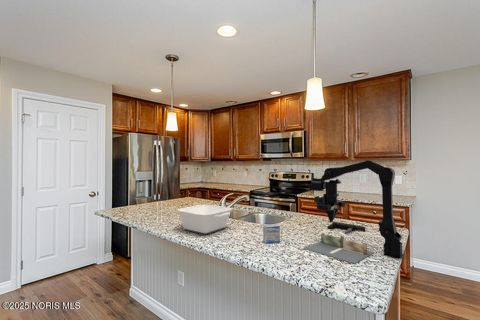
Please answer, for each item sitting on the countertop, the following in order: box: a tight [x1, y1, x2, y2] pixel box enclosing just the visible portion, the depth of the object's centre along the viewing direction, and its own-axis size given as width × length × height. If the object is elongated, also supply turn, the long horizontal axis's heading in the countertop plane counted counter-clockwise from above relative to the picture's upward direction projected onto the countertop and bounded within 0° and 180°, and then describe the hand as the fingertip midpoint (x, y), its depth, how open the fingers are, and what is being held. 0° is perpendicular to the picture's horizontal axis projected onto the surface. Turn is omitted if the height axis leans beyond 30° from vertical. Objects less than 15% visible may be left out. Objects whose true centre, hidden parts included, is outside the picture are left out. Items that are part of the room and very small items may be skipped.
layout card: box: [303, 240, 374, 265], centre depth 121 cm, size 25×19×1 cm
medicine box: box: [262, 224, 281, 245], centre depth 134 cm, size 8×4×9 cm, turn 105°
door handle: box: [327, 221, 366, 235], centre depth 158 cm, size 3×20×16 cm
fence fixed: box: [340, 235, 368, 255], centre depth 120 cm, size 12×2×6 cm, turn 41°
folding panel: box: [320, 232, 341, 247], centre depth 128 cm, size 10×2×4 cm, turn 41°
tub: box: [177, 204, 233, 236], centre depth 158 cm, size 34×27×13 cm
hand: (331, 222), depth 132 cm, fingers closed
